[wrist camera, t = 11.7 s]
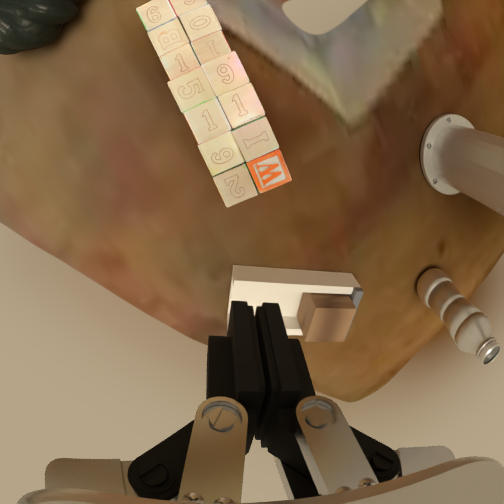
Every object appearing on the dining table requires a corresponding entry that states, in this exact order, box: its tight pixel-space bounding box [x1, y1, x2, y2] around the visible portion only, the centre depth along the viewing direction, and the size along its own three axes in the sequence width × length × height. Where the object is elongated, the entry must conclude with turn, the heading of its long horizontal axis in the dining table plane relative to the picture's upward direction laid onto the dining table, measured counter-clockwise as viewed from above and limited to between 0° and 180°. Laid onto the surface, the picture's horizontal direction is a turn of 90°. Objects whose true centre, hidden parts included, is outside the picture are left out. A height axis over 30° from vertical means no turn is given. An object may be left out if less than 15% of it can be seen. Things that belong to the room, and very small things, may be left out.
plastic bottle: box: [417, 268, 501, 365], centre depth 39 cm, size 6×7×20 cm
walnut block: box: [297, 292, 356, 342], centre depth 44 cm, size 6×6×6 cm
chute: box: [227, 265, 364, 338], centre depth 44 cm, size 18×9×5 cm, turn 82°
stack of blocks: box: [136, 0, 292, 207], centre depth 27 cm, size 21×6×12 cm, turn 23°
